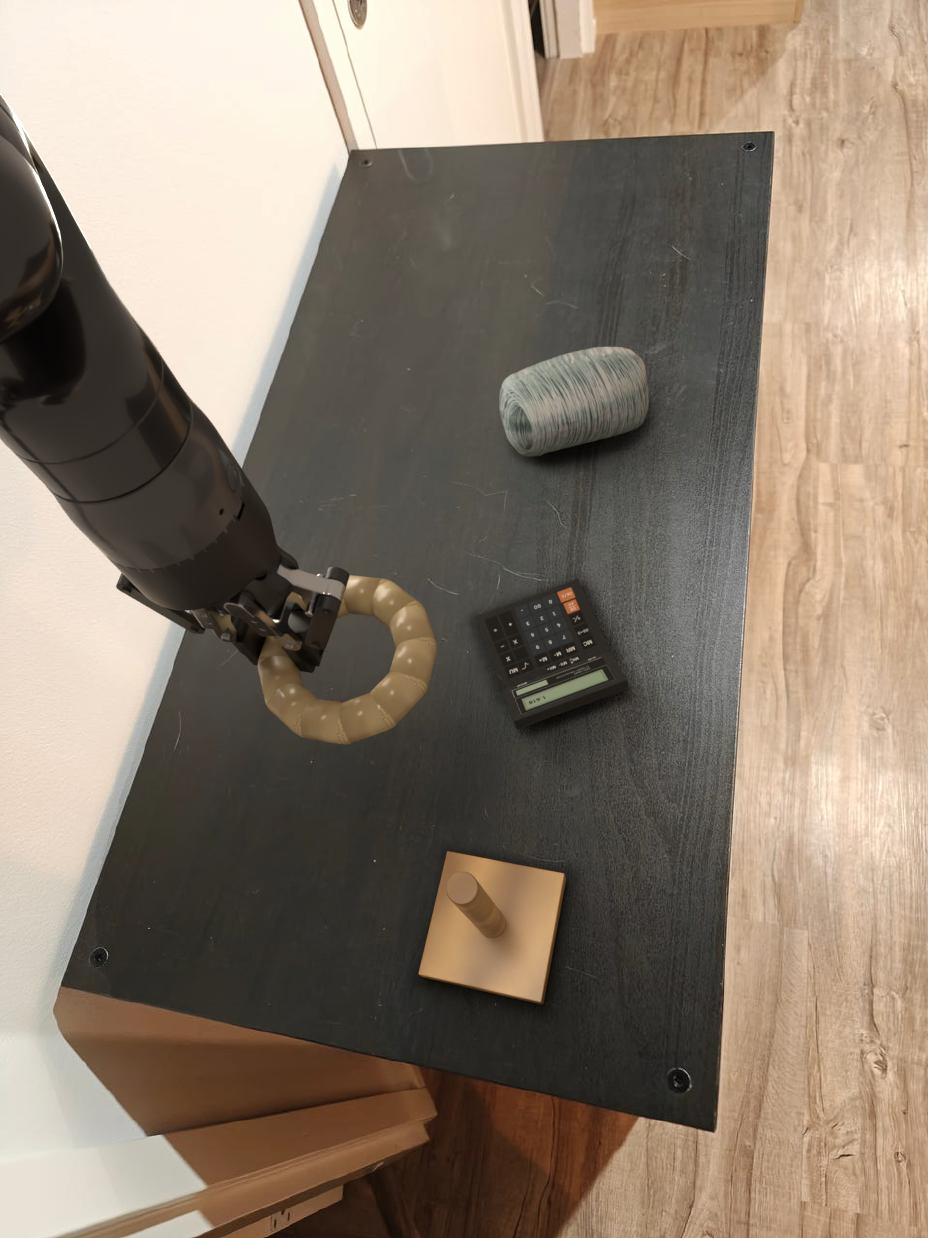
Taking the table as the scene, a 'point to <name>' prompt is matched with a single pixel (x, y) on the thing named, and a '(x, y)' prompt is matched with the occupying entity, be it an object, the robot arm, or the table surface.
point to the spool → (574, 400)
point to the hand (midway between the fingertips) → (289, 655)
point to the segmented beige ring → (385, 699)
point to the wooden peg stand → (494, 927)
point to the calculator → (550, 654)
